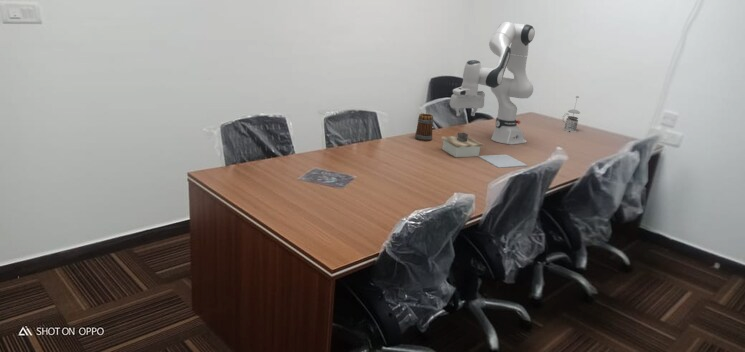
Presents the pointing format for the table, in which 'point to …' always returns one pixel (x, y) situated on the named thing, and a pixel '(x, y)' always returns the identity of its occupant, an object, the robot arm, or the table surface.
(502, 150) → the table surface
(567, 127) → the french press
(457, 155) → the pale green open box
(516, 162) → the mat
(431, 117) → the mug
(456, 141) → the lid
